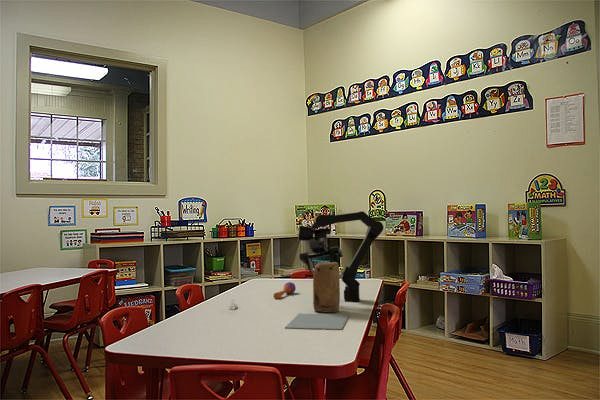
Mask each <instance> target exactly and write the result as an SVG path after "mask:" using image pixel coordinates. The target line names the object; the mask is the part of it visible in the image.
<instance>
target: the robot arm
mask: <svg viewBox="0 0 600 400" xmlns="http://www.w3.org/2000/svg"><path fill="white" fill-rule="evenodd" d="M355 221H360V222H362V223H363V224H364V225H365V226H366V227H367V228H366V233H365V237H364V239H363V240H362V242H361V244H360V245H359V247H358V249H357V250H356V253H355V255H354V256H353V258H352V259H351V261H350V263H349V264H348V265H346V264H344V266H343V268H342V270H340V275H339V278H340V280H341V281H342V283H343V284H344V285H345V287H344V290H343V300H344V302H360V300H361V297H360V285H361V283H360V282H359V281H358V280H357V279H356V277H357V274H358V270H359V267H360V265H361V263H362V261H363V260H364V258H365V256H366V255H367V253H368V252H369V249H370V248H371V246H372V244H373V242H375V240H376V239H377V238H378V237H379V236H380V235H381V233H382V232H383V231H384V227H385V226H384V225H383V223H382V221H379V220H375V219H374V218H373V217H371V216H370V215H368V214H367V213H366V212H365V211H357V212H350V213H342V214H318V215H317V216H315V218H314V222H313V223H312V224H311V226H303V225H299V226H298V227H299V229H298V232H297V234H298V235H297V241H298V242H308V243H309V250H311V252H312V254H311V253H309V252H308V251H305V252H301V253H300V254H299V255H298V257H299V260H300V261H301V262H302V263H303V264H305V265H306V266H307V269H308V271H309V274H310V275H313V265H314V264H313V259H317V258H322V257H328V256H329V262H337V263H338V260H340V259H341V258H342V257H343V256H344V255H343V251H342V249H341V248H340V247H339V246H338V245H337V246H332V247H329V244H328V235H331V232H332V229H330V228H329V226H332V225H334V224H337V223H345V222H355ZM327 226H328V227H327ZM324 227H326V228H324ZM311 240H313V241H311ZM328 247H329V250H328Z"/></svg>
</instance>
